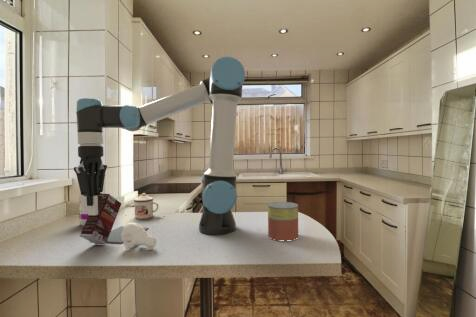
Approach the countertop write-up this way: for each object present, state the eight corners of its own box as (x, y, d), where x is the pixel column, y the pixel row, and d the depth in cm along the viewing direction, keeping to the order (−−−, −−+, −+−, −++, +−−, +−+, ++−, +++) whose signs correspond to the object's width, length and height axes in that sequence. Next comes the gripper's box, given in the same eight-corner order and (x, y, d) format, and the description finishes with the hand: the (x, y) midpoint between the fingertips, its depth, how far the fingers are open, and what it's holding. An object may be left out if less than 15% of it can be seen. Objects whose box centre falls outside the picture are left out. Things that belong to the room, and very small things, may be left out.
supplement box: (91, 237, 87) (109, 193, 96) (78, 236, 88) (97, 193, 97) (106, 245, 94) (122, 203, 103) (95, 244, 95) (111, 203, 104)
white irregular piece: (131, 219, 94) (161, 224, 91) (130, 243, 95) (160, 249, 92) (119, 224, 88) (151, 230, 85) (117, 249, 89) (149, 256, 85)
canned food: (305, 238, 98) (304, 205, 98) (281, 244, 92) (280, 209, 92) (284, 230, 108) (284, 200, 108) (262, 235, 102) (261, 204, 102)
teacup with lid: (131, 219, 130) (130, 195, 129) (139, 214, 139) (138, 192, 139) (155, 219, 129) (154, 195, 128) (162, 214, 138) (161, 192, 138)
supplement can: (104, 222, 123) (103, 190, 123) (85, 227, 116) (84, 193, 116) (94, 220, 128) (93, 189, 127) (76, 224, 121) (75, 191, 120)
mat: (148, 228, 113) (148, 227, 113) (121, 243, 95) (121, 242, 95) (121, 227, 115) (121, 226, 115) (89, 241, 98) (89, 240, 98)
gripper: (95, 145, 98) (97, 210, 98) (65, 145, 85) (68, 219, 86) (113, 145, 96) (115, 210, 97) (85, 144, 83) (88, 220, 84)
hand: (93, 214), depth 91 cm, fingers closed
